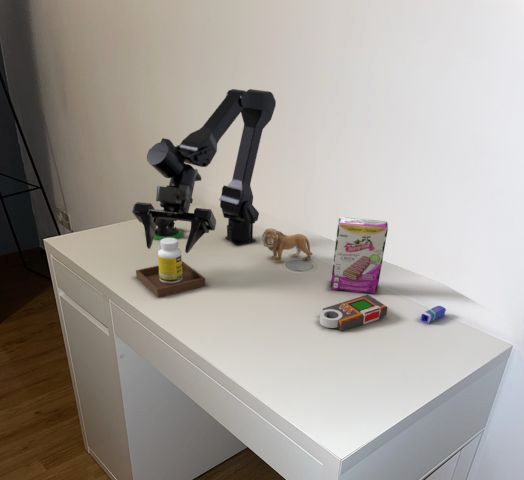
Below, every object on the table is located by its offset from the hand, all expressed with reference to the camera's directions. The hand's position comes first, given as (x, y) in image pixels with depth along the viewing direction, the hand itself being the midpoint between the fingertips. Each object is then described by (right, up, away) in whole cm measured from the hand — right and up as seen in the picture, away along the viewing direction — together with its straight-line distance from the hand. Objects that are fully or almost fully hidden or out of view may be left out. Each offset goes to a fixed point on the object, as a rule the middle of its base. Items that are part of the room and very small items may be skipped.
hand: (167, 250), depth 124 cm
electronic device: (+41, -16, -7) cm, 44 cm away
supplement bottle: (0, -6, +5) cm, 8 cm away
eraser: (+59, -16, -6) cm, 61 cm away
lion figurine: (+28, +1, +19) cm, 34 cm away
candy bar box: (+44, -8, +5) cm, 45 cm away
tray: (0, -7, +5) cm, 8 cm away
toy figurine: (-6, +11, +32) cm, 35 cm away
